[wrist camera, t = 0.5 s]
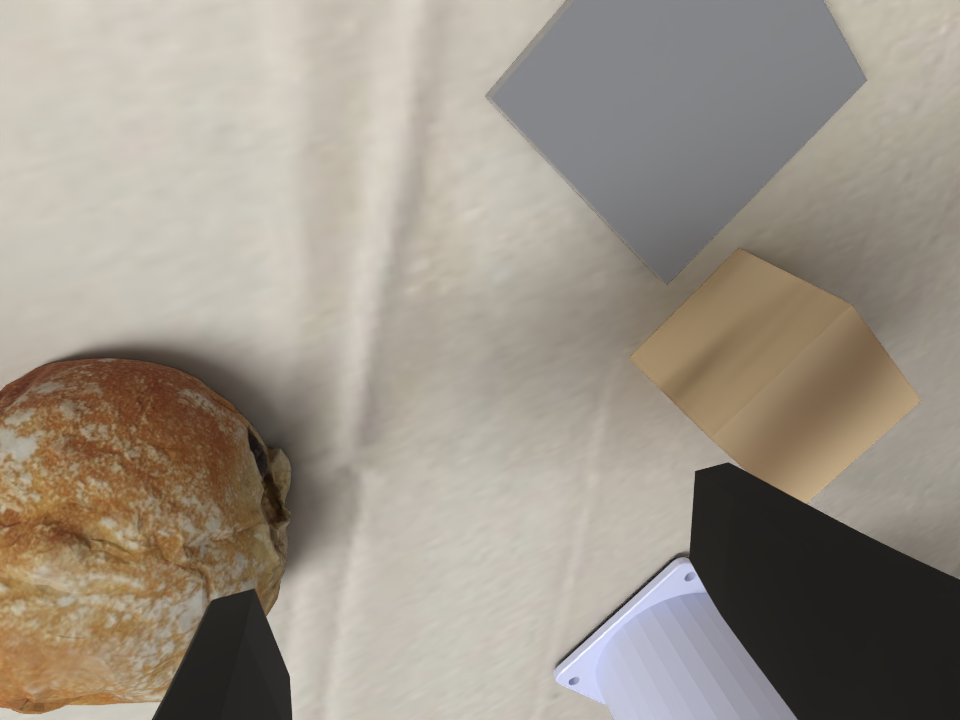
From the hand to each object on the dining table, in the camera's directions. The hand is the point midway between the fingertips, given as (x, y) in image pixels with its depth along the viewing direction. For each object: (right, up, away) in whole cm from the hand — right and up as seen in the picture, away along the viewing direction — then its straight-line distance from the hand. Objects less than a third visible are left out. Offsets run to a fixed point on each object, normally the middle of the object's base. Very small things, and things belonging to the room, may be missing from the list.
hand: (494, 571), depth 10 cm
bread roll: (-11, -1, +9) cm, 15 cm away
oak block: (+8, +4, +12) cm, 15 cm away
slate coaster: (+5, +11, +8) cm, 14 cm away
